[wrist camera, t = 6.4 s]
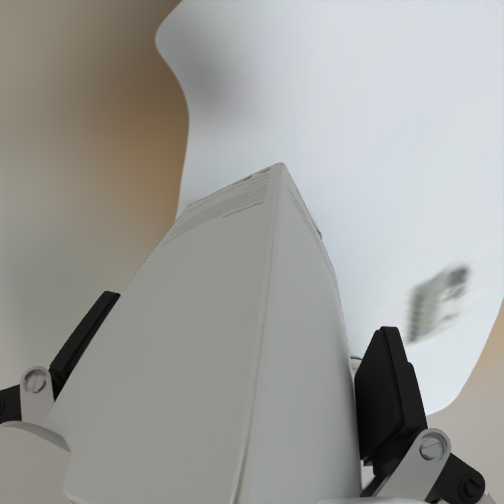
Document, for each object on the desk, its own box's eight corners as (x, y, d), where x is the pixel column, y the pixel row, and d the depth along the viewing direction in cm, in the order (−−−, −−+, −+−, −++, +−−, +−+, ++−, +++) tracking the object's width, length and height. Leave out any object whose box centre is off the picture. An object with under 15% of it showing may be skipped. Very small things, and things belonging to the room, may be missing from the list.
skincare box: (187, 203, 17) (1, 455, 3) (290, 154, 15) (225, 574, 1) (252, 309, 20) (196, 544, 7) (344, 278, 18) (367, 553, 4)
